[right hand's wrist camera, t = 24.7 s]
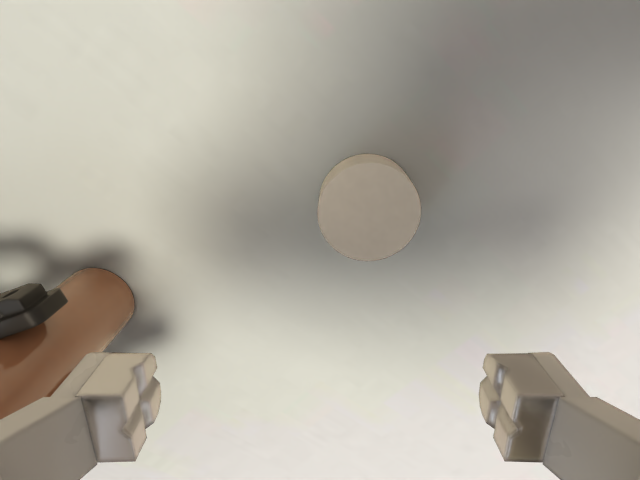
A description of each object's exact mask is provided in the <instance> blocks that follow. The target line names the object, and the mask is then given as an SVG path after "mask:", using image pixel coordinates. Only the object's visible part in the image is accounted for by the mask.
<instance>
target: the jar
mask: <svg viewBox="0 0 640 480" xmlns="http://www.w3.org/2000/svg"><path fill="white" fill-rule="evenodd" d="M56 288H60V289H61V291H62V292H63V294H64V295H65V297H66V298H67V300H68V302H67V303H66V304H65V305H64V306H63V307H62V308H61V309H59V310H58V311H57V312H56V313H55V314H53V315H52V316H51V317H50V318H49V319H47V320H46V321H45V322H43V323H41V324H39V325H38V326H35V327H33V328H31V329H28V330H25V331H22V332H19V333H16V334H13V335H10V336H7V337H4V338H1V339H0V420H1V419H3V418H5V417H6V416H8V415H10V414H12V413H14V412H16V411H18V410H20V409H22V408H24V407H25V406H27V405H29V404H31V403H33V402H35V401H37V400H39V399H41V398H43V397H51V395H52V394H53V393H54V392H55V391H56V389H57V388H58V387H59V386H60V385H61V384H62V382H63V381H64V380H65V379H66V378H67V376H68V375H69V374H70V373H71V372H72V371H73V369H74V368H75V367H76V366H77V365H78V364H79V362H80V361H81V360H82V359H83V358H84V356H85V355H86V354H89V353H92V352H103V351H104V350H105V349H106V347H107V346H108V345H109V344H110V343H111V341H112V340H113V339H114V338H115V337H116V335H117V334H118V333H119V332H120V331H121V329H122V328H123V327H124V326H125V325H126V323H127V322H128V321H129V320H130V318H131V317H132V315H133V312H134V306H135V305H134V297H133V294H132V292H131V290H130V288H129V287H128V285H127V284H126V283H125V282H124V281H123V280H122V279H121V278H120V277H118V276H117V275H115V274H114V273H112V272H110V271H107V270H104V269H100V268H86V269H82V270H79V271H77V272H75V273H74V274H73V275H71V276H70V277H69V278H67V279H66V280H65V281H63V282H62V283H61V284H59V285H58V286H57V287H56ZM56 288H54V289H56Z"/></svg>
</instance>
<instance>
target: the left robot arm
mask: <svg viewBox="0 0 640 480" xmlns="http://www.w3.org/2000/svg"><path fill="white" fill-rule="evenodd" d="M67 302H68V300H67V298H66V297H65V295H64V294H63V292H62V291H61V289H60V288H56V289H53V290H50V291H47V292H46V291H45V289H44V288H43V286H42V285H41V284H26V285H24V286H21V287H18V288H15V289H13V290H10V291H7V292H4V293H1V294H0V339H1V338H4V337H7V336H10V335H13V334H16V333H19V332H22V331H25V330H28V329H31V328H33V327H35V326H38V325H39V324H41V323H43V322H45V321H46V320H47V319H49V318H50V317H51V316H52V315H53V314H55V313H56V312H57V311H58V310H59V309H61V308H62V307H63V306H64V305H65V304H66V303H67Z"/></svg>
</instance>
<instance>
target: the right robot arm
mask: <svg viewBox="0 0 640 480" xmlns="http://www.w3.org/2000/svg"><path fill="white" fill-rule="evenodd" d="M156 369H157V364H156V359H155V356H154V355H153V354H152V353H115V352H112V353H109V352H92V353H89V354H86V355H85V356H84V358H83V359H82V360H81V361H80V362H79V364H78V365H77V366H76V367H75V368H74V369H73V371H72V372H71V373H70V374H69V375H68V376H67V378H66V379H65V380H64V381H63V382H62V384H61V385H60V386H59V387H58V388H57V389H56V391H55V392H54V393H53V394H52V395H51V397H43V398H41V399H39V400H37V401H35V402H33V403H31V404H29V405H27V406H25V407H24V408H22V409H20V410H18V411H16V412H14V413H12V414H10V415H8V416H6V417H5V418H3V419H1V420H0V480H80V479H81V478H82V477H83V476H84V475H86V474H87V473H88V472H89V471H90V470H91V469H92V468H94V467H95V466H96V465H97V462H127V461H136V459H137V457H138V455H139V453H140V451H141V449H142V446H143V444H144V442H145V440H146V438H147V436H146V430H145V429H146V428H147V427H149V426H150V425H152V424H153V423H154V421H155V419H156V417H157V415H158V412H159V407H160V403H161V388H160V383H159V382H158V381H157V380H156V379H155V378H154V377H153V375H154V373H155V371H156ZM483 369H484V371H485V373H486V375H487V376H486V377H485V378H484V380H483V381H482V382H481V383H480V389H479V402H480V408H481V412H482V415H483V417H484V419H485V422H486V423H487V424H488V425H490V426H491V427H493V428H494V429H495V430H494V436H493V438H494V440H495V442H496V444H497V446H498V449H499V451H500V453H501V455H502V457H503V459H504V461H512V462H543V465H544V466H545V467H547V468H548V469H549V470H550V471H551V472H552V473H553V474H555V475H556V476H557V477H558V478H559V479H560V480H640V420H639V419H637V418H635V417H633V416H632V415H630V414H628V413H626V412H624V411H622V410H620V409H618V408H616V407H614V406H613V405H611V404H609V403H607V402H605V401H603V400H601V399H599V398H597V397H589V395H588V394H587V393H586V392H585V391H584V389H583V388H582V387H581V386H580V385H579V384H578V382H577V381H576V380H575V379H574V378H573V377H572V375H571V374H570V373H569V372H568V371H567V369H566V368H565V367H564V366H563V365H562V364H561V362H560V361H559V360H558V359H557V358H556V357H555V355H554V354H552V353H550V352H536V353H512V354H487V355H486V357H485V359H484V363H483Z"/></svg>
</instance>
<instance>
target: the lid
mask: <svg viewBox="0 0 640 480" xmlns="http://www.w3.org/2000/svg"><path fill="white" fill-rule="evenodd" d="M317 215H318V223H319V227H320V230H321V232H322V234H323V236H324V238H325V239H326V241H327V242H328V243H329V244H330V245H331V246H332V247H333V248H334V249H335V250H336V251H337V252H339V253H341V254H342V255H344V256H346V257H349V258H352V259H355V260H360V261H375V260H380V259H384V258H387V257H389V256H392V255H394V254H395V253H397V252H399V251H400V250H401V249H403V248H404V247H405V246H406V245H407V244H408V243H409V241H410V240H411V239H412V238H413V236H414V234H415V233H416V230H417V228H418V226H419V222H420V217H421V203H420V198H419V195H418V192H417V190H416V188H415V186H414V185H413V183H412V182H411V180H410V179H409V177H408V176H407V175H406V173H405V172H404V171H403V169H402V168H401V167H400V166H399V165H398V164H396V163H395V162H393V161H392V160H390V159H388V158H386V157H383V156H380V155H376V154H360V155H355V156H352V157H349V158H347V159H345V160H343V161H341V162H340V163H338V164H337V165H336V166H335V167H333V168H332V170H331V171H330V172H329V173H328V175H327V176H326V178H325V179H324V181H323V184H322V187H321V190H320V195H319V202H318V211H317Z"/></svg>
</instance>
